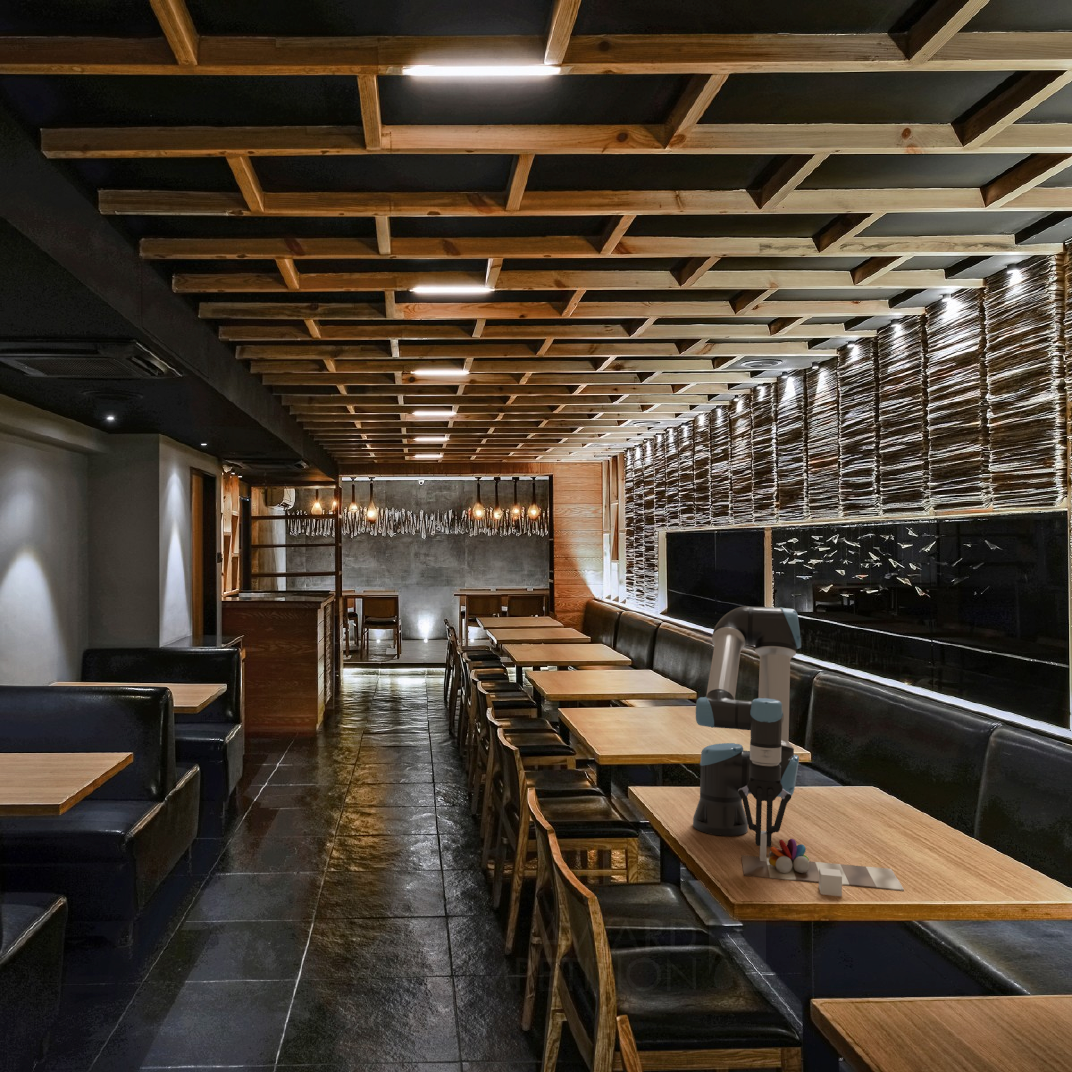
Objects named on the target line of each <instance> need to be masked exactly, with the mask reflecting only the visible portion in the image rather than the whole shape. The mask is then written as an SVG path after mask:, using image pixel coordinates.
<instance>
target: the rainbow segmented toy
mask: <svg viewBox="0 0 1072 1072" xmlns="http://www.w3.org/2000/svg"><path fill="white" fill-rule="evenodd" d="M778 844H779V847H780V848H777V847H775V846H771V847H769V848H770V851H769V854H768V858H769V863H770V864H771V865H773V866H776V868H777V870H778V871H779V872H781V873H788V872H790V871H791V869H792V866H793V867H794V869H795V871H797V872H798V873H805V872H807V871H808V870H809V867H810V863H809V861H810V860H809V857H808V856H807V855H805V853H806V846H805V844H803V843H802V844H797V841H796V839H793V838H790V839H788V841H787V843H786V842H785V841H784V839H779V840H778Z"/></svg>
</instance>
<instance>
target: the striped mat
mask: <svg viewBox="0 0 1072 1072" xmlns="http://www.w3.org/2000/svg"><path fill="white" fill-rule="evenodd" d="M741 861H742V862H741V863H742V871H743V876H744V877H745V876H746V877H754V878H766V879H767V878H768V879H775V880H776V879H777V880H786V881H798V882H808V883H809V882H810V883H816V884H817V883H818V884H819V868H825V869H836V870H840V872H841V875H842V886H851V887H860V888H862V887H863V888H871V889H881V890H882V889H883V890H891V891H901V892H904V891H905V888H904V887H903V885H902V883H901V882H900V880H899V879H898V877H897V876H896V874H895V872H894V871H893V869H892V868H887V867H886V868H885V867H875V866H865V865H855V864H854V865H852V864H845V863H844V864H842V863H841V864H840V863H833V862H832V863H830V862H820V861H812V860H811V861H810V860H809V863H810V867H809V870H808V871H807V872H805V873H798V872H797V871H795V869H794V867H793V866H792V869H791V871H790V872H788V873H781V872H779V871H778V870H777V868H776V866H773V865H771V864H770V863H769V857H768V856H766V861H760V856H756V855H755V856H754V855H753V856H752V855H746V854H745V855H743V854H741Z"/></svg>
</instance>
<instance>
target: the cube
mask: <svg viewBox="0 0 1072 1072" xmlns="http://www.w3.org/2000/svg"><path fill="white" fill-rule="evenodd" d="M818 889H819V893H820V895H824V896H825V895H826V896H833V897H843V885H842V875H841V872H840V870H836V869H825V868H819V883H818Z"/></svg>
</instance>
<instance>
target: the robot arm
mask: <svg viewBox="0 0 1072 1072" xmlns="http://www.w3.org/2000/svg"><path fill="white" fill-rule="evenodd" d="M800 630H801V629H800V622H799V615H798V612H797V611H796V609H793V608H788V607H786V608H785V607H782V606H780V607H769V606H768V607H767V606H748V605H747V606H746V605H744V606H739V607H736V608H734V609H732V610H730V611H729V612H727V613H726V614H724V615H723V616H722V617H721V618H720V619H719V621H718V622H717V623H716V625H715V626H714V628H713V630H712V631H713V632H712V636H711V642H712V645H713V652H712V657H711V658H712V659H711V663H710V669H709V670H710V671H709V676H708V677H709V678H708V683H707V689H706V695H705V696H704V697H703V696H701V697H698V698H697V700H696V702H695V703H696V704H695V722H696V724H697V725H699V726H700V727H701V726H702V727H706V728H707V727H708V728H714V729H715V728H716V729H733V730H741V731H742V730H743V731H750V741H749V742H750V743H749V750H744V747H743V745H742V744H740V743H734V742H733V743H732V742H731V743H730V742H727V743H726V742H725V743H715V744H711V745H710V744H709V745H707V746H705V747H703V748H702V750H701V753H700V754H701V755H700V762H699V765H700V772H699V773H700V775H699V776H700V777H699V778H700V782H699V783H700V785H699V800H698V802H697V806H696V808H695V812H694V815H693V818H692V826H693V828H694V829H695V830H697V831H700V832H702V833H704V834H709V835H713V836H714V835H715V836H724V837H732V836H734V837H735V836H740V835H744V834H746V833H747V832H748V831H749V830H750V831H754V832H755V836H754V837H755V846H757V847H759V857H760V861H766V857H767V848H771V847H772V839H773V838H772V836H773V835H772V834H774V833H779V832H780V829H781V828H782V827H781V826H782V823H783V819H784V815H785V812H786V807H787V805H788V803H789V801H791V799H792V796H793V794H794V792H795V789H796V783H797V777H798V770H799V761H800V756H799V755H797V754H795V753H794V752H795V748H794V746H792V745H791V743H790V741H789V738H790V737H789V733H790V732H789V730H790V728H789V727H790V693H791V692H790V691H791V689H790V687H791V686H790V685H791V683H790V682H791V659H792V658H793V657H795V656H796V654H797V650H798V649H801V648H802V638H801V631H800ZM745 646H751V647H754V652H755V654H756V655H758V657H759V670H758V671H759V673H758V675H759V678H758V697H757V698H754V699H753V700H743V699H742V700H741V699H736V693H737V685H738V677H739V669H740V668H739V667H740V666H739V665H740V659H741V651H743V649H744V648H745ZM749 795H752V796H753V798H754V799H755V800H756V801H755V802H756V804H755V823H754V822H753V818H752V812H751V808H750V804H749V799H748V796H749ZM776 798H780V799H781V800H780V803H779V807H778V810H777V813H776V818H775V820H774V821H775V822H774V824H773V803H774V801H775V800H776ZM763 802H766V817H765V818H766V820H765V821H766V822H765V823H766V824H765V829H766V830H762V811H763V810H762V806H763Z"/></svg>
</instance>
